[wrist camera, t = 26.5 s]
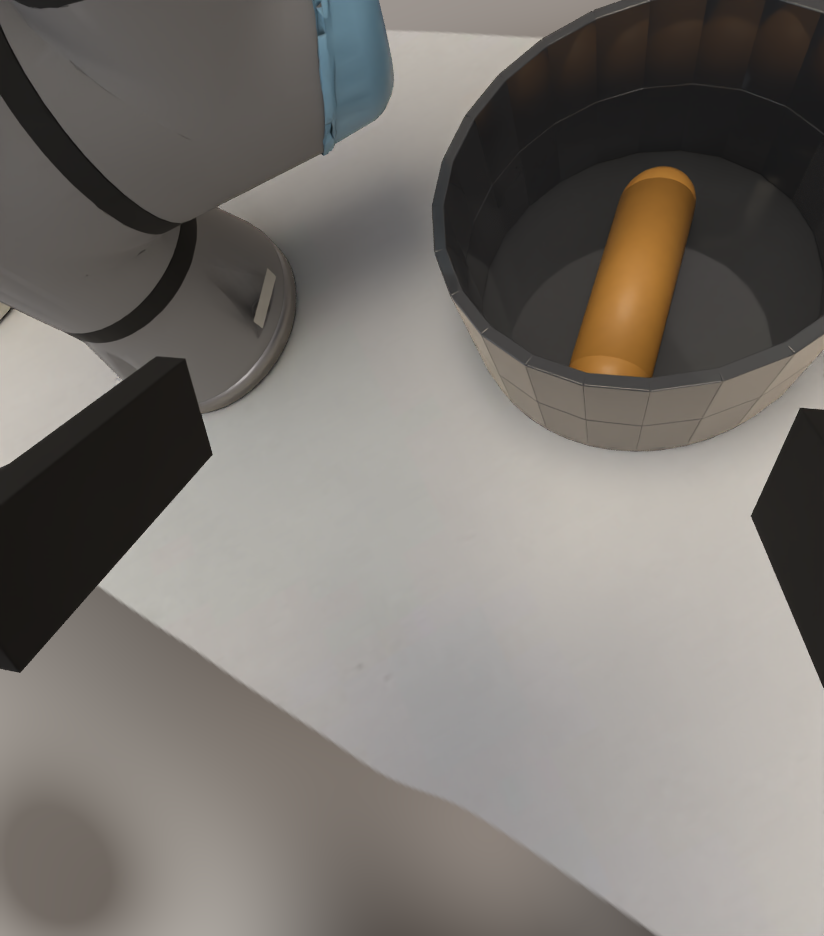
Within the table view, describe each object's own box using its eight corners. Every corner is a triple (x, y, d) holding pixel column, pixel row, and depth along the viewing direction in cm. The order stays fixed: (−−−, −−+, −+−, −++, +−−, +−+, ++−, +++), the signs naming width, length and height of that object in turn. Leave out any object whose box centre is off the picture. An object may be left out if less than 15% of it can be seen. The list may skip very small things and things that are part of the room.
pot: (422, 287, 37) (363, 185, 28) (668, 95, 35) (692, -87, 25) (600, 519, 30) (600, 486, 21) (924, 302, 28) (1085, 156, 19)
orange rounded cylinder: (636, 437, 28) (645, 401, 25) (558, 422, 30) (556, 385, 26) (695, 209, 32) (709, 149, 29) (623, 205, 34) (629, 147, 30)
